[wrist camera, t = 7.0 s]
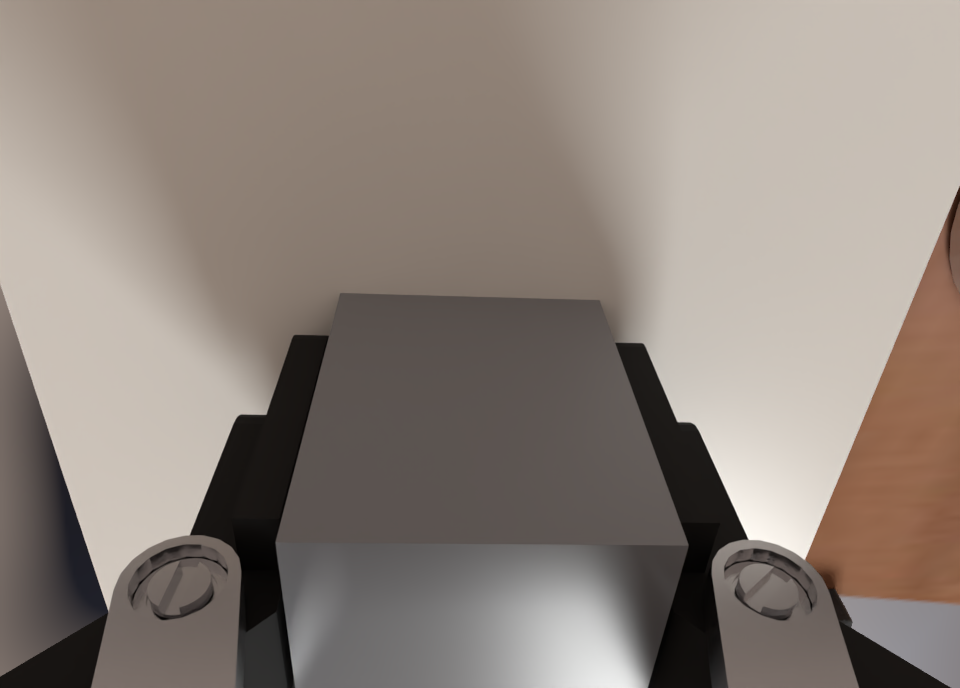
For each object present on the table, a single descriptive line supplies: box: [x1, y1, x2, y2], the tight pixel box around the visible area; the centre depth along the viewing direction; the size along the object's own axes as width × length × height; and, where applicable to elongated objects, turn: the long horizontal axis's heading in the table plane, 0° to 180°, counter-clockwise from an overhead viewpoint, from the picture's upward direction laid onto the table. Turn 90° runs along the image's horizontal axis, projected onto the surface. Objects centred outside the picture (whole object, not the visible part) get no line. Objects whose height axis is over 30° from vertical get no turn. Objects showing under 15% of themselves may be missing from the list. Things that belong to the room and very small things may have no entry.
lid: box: [0, 0, 960, 688], centre depth 11 cm, size 14×14×6 cm
